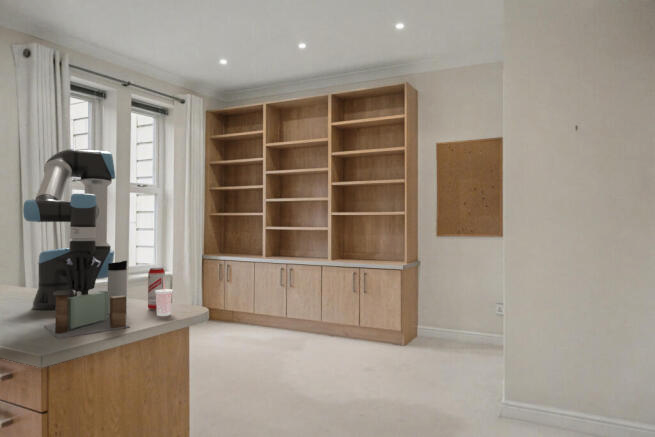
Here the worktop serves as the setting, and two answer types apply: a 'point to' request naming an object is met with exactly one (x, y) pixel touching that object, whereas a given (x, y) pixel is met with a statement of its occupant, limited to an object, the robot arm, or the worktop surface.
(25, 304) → the worktop surface
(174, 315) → the worktop surface
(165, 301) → the beverage cup
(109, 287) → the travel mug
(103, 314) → the gate
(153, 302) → the beer can
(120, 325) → the stile
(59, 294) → the hinge post
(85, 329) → the base mat
